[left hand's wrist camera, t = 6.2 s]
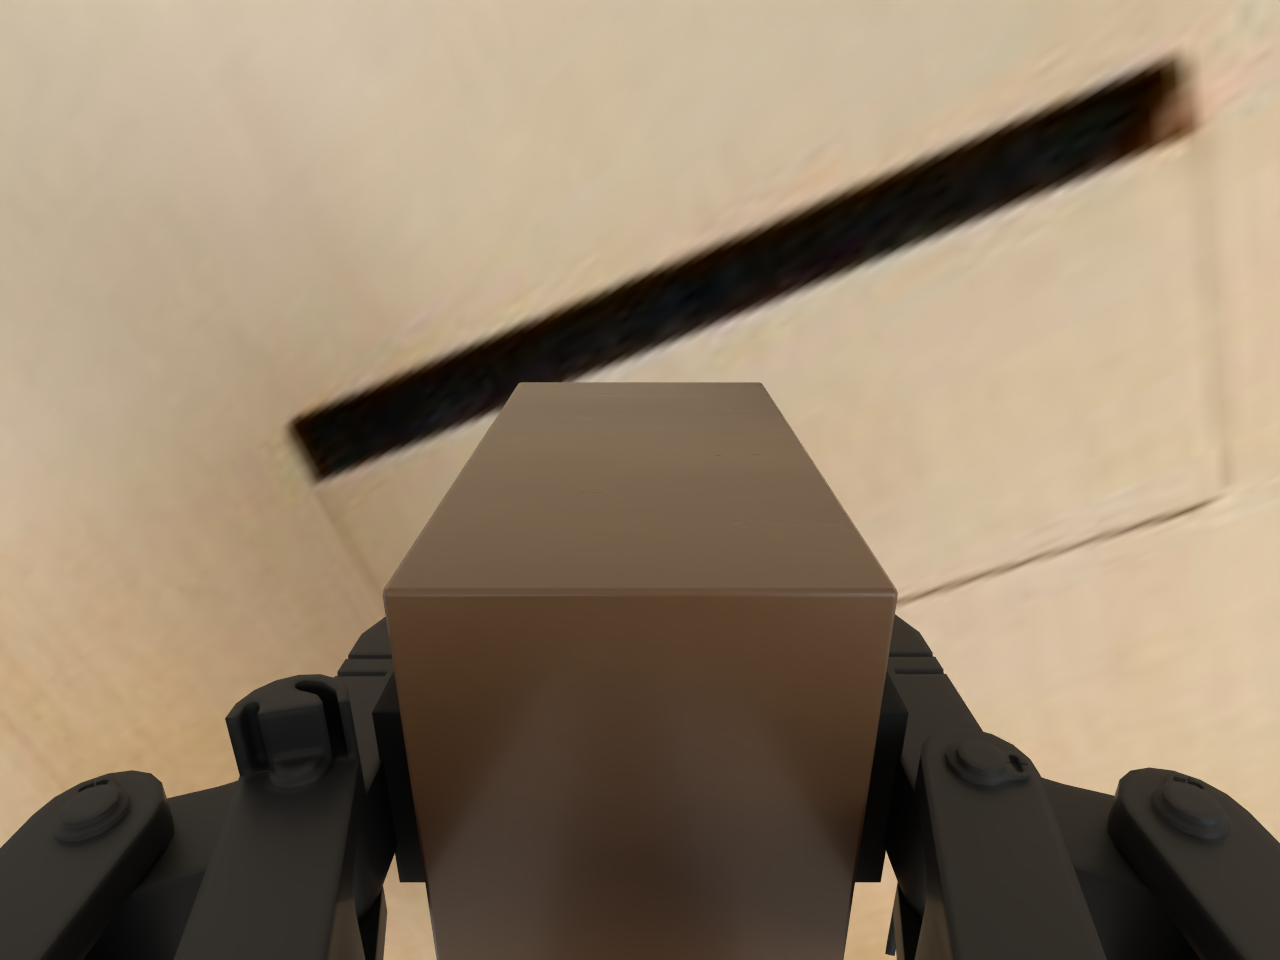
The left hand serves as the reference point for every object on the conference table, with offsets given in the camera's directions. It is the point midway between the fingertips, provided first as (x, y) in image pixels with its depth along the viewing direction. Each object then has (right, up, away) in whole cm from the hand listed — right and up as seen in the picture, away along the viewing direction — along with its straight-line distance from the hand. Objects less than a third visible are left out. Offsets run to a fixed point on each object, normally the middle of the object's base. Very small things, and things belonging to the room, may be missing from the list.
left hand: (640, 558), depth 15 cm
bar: (0, -9, +4) cm, 10 cm away
